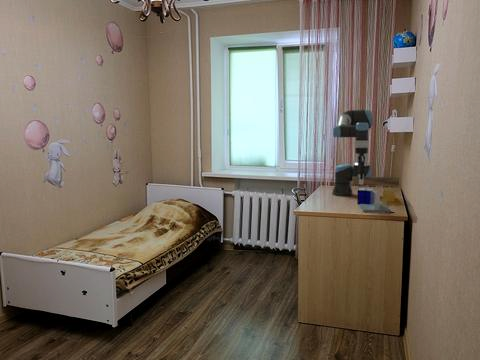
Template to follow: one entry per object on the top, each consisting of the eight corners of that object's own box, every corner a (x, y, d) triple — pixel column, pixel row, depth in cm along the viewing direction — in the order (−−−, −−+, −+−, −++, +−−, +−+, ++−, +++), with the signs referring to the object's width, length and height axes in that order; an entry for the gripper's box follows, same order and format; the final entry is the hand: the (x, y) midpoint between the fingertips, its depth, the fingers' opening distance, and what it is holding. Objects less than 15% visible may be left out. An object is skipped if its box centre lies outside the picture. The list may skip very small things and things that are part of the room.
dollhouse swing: (388, 205, 270) (388, 192, 269) (380, 203, 279) (381, 190, 278) (402, 205, 272) (402, 191, 271) (394, 202, 281) (395, 189, 280)
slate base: (360, 206, 269) (360, 204, 269) (385, 206, 266) (385, 204, 266) (363, 212, 251) (363, 209, 251) (390, 212, 249) (390, 210, 249)
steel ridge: (370, 204, 268) (370, 189, 266) (374, 204, 267) (375, 189, 266) (374, 209, 250) (374, 194, 249) (379, 210, 250) (380, 194, 248)
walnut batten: (352, 184, 261) (352, 176, 260) (397, 185, 256) (398, 177, 255) (352, 185, 257) (353, 177, 257) (398, 185, 253) (399, 177, 252)
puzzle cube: (357, 204, 275) (357, 190, 274) (359, 201, 285) (359, 187, 283) (372, 205, 271) (373, 190, 270) (374, 202, 280) (374, 188, 279)
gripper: (354, 146, 264) (353, 182, 267) (357, 148, 248) (356, 185, 251) (366, 146, 262) (365, 182, 266) (369, 148, 246) (368, 185, 249)
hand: (360, 183), depth 258 cm, fingers closed on walnut batten, 3 cm apart
